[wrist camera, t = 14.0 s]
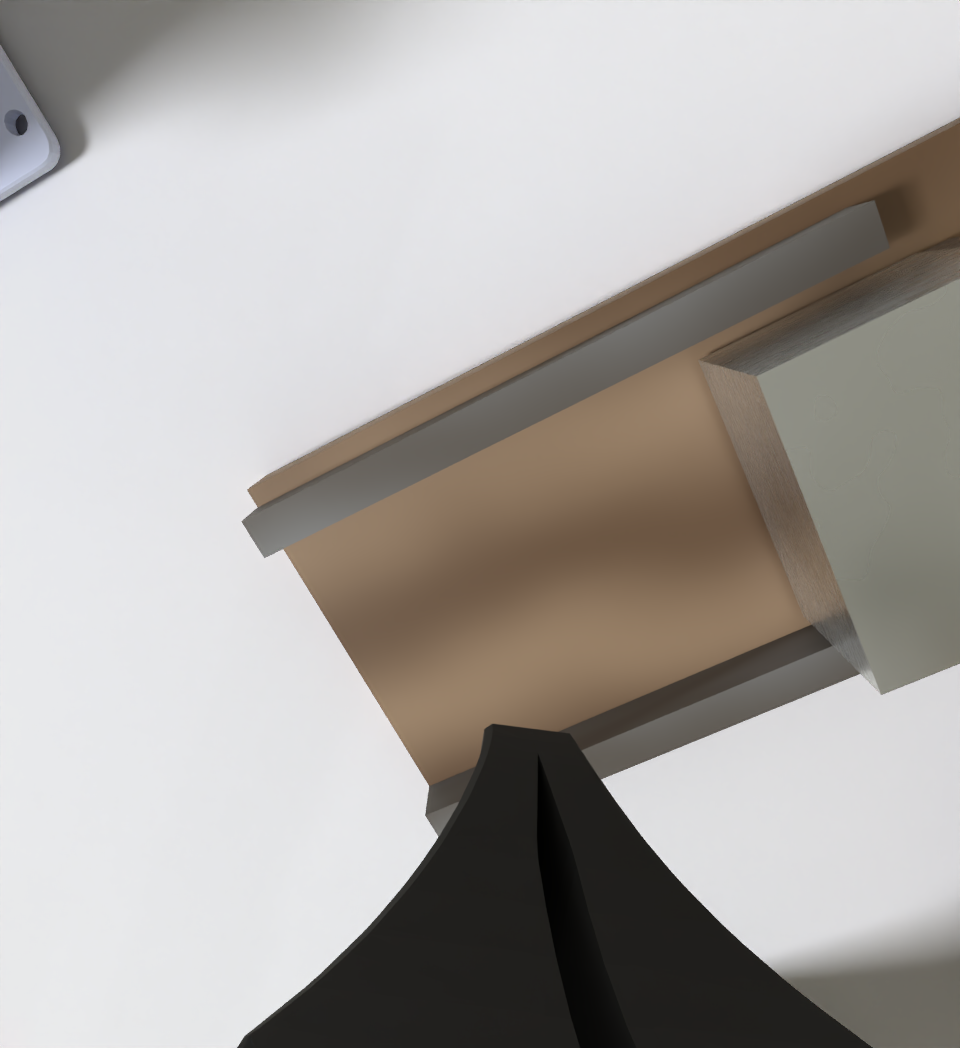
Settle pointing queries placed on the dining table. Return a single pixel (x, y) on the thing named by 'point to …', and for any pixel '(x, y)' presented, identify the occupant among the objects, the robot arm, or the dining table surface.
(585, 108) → the dining table surface
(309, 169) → the dining table surface
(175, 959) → the dining table surface
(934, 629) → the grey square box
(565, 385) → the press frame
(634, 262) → the dining table surface
